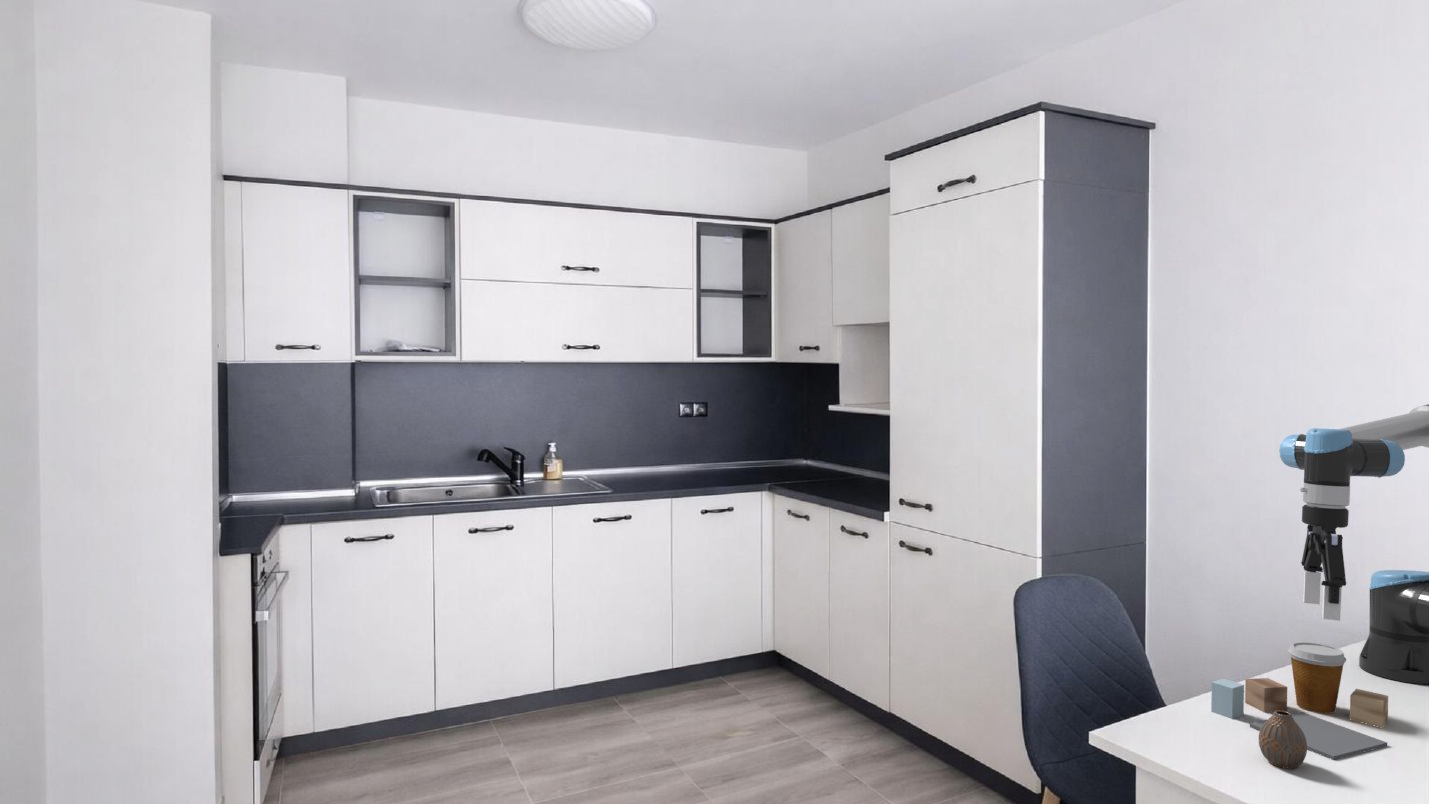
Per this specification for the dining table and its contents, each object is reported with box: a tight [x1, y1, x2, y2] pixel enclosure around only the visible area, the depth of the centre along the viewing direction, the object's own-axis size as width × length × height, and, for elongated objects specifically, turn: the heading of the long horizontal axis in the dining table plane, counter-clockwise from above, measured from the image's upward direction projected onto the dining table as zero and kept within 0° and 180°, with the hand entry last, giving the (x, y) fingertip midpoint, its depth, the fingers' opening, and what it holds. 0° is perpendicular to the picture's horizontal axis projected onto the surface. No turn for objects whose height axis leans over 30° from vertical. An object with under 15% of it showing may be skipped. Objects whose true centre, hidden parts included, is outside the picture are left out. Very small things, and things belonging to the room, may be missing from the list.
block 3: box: [1349, 688, 1389, 729], centre depth 162 cm, size 5×5×5 cm
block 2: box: [1244, 677, 1288, 713], centre depth 168 cm, size 5×5×5 cm
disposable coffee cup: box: [1287, 641, 1347, 714], centre depth 168 cm, size 10×10×12 cm
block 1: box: [1210, 678, 1245, 720], centre depth 165 cm, size 4×6×4 cm
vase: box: [1258, 710, 1308, 769], centre depth 144 cm, size 7×7×9 cm
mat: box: [1249, 711, 1388, 761], centre depth 155 cm, size 15×15×1 cm
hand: (1320, 611), depth 168 cm, fingers open, 13 cm apart
